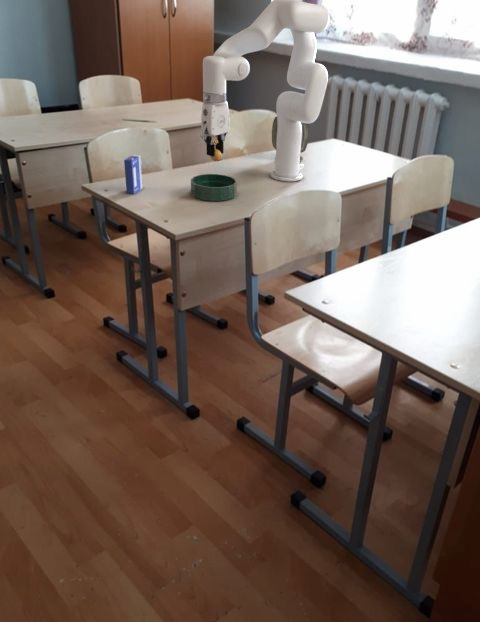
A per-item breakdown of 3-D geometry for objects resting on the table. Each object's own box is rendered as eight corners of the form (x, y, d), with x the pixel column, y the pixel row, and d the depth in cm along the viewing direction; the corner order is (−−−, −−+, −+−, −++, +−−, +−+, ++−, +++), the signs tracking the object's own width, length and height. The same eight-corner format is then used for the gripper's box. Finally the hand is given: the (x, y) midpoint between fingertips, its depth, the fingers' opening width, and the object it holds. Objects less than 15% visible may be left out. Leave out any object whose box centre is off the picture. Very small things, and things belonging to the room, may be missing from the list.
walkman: (133, 194, 209) (131, 159, 202) (126, 193, 209) (123, 158, 203) (143, 187, 215) (141, 154, 209) (135, 186, 216) (133, 153, 209)
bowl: (211, 184, 223) (211, 171, 220) (245, 194, 216) (245, 180, 213) (181, 194, 212) (181, 180, 209) (216, 205, 204) (216, 190, 202)
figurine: (226, 163, 205) (227, 127, 199) (210, 164, 203) (210, 128, 196) (216, 157, 211) (217, 122, 205) (200, 158, 209) (200, 122, 202)
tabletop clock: (273, 161, 255) (277, 99, 241) (269, 156, 262) (272, 95, 249) (306, 161, 258) (311, 100, 244) (301, 156, 265) (306, 96, 252)
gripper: (206, 103, 189) (207, 161, 199) (239, 96, 200) (238, 151, 210) (189, 99, 192) (190, 156, 202) (222, 93, 204) (222, 147, 214)
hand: (215, 153), depth 206 cm, fingers closed on figurine, 4 cm apart
